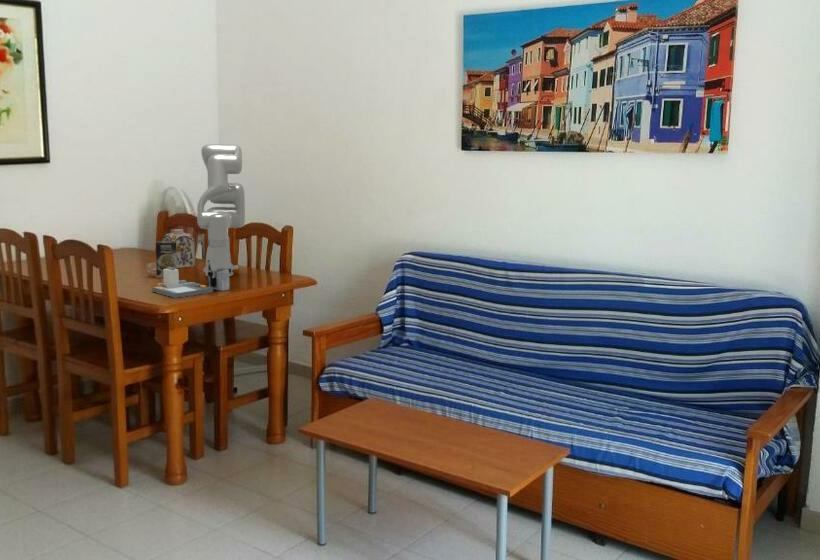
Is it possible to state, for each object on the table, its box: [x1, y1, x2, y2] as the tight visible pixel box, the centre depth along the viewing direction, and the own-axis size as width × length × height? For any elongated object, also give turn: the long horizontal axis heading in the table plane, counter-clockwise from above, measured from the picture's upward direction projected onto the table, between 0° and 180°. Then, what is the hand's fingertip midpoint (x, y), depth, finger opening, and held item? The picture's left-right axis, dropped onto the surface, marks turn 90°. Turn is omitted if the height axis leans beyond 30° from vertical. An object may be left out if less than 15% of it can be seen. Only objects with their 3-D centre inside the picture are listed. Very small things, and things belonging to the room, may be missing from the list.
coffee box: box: [155, 240, 178, 279], centre depth 366 cm, size 9×6×16 cm
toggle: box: [163, 267, 180, 286], centre depth 335 cm, size 4×5×8 cm
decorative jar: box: [161, 228, 196, 269], centre depth 392 cm, size 12×12×18 cm
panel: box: [151, 279, 214, 299], centre depth 335 cm, size 18×17×3 cm
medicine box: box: [208, 269, 230, 292], centre depth 342 cm, size 8×4×9 cm, turn 59°
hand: (219, 285), depth 342 cm, fingers closed on medicine box, 5 cm apart
